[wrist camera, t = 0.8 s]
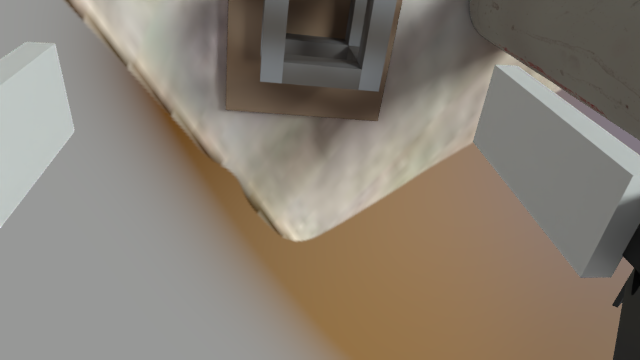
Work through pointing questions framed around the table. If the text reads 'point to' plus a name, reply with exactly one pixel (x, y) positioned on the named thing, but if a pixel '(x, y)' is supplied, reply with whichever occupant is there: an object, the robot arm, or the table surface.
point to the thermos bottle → (574, 48)
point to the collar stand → (310, 56)
